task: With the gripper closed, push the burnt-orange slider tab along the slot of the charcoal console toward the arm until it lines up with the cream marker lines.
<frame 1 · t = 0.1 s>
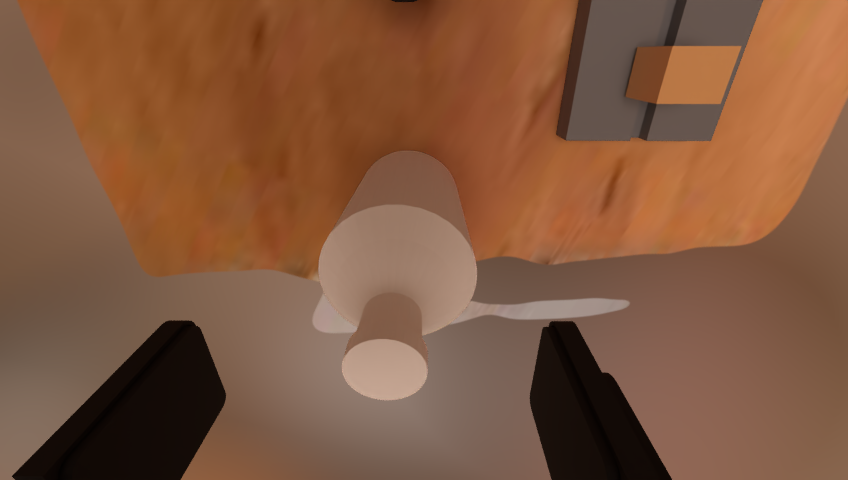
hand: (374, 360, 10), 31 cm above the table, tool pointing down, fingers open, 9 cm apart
slider tab: (671, 73, 30), point 5 cm above the table, slide at 10.0 cm
bottle: (408, 198, 41), on the table
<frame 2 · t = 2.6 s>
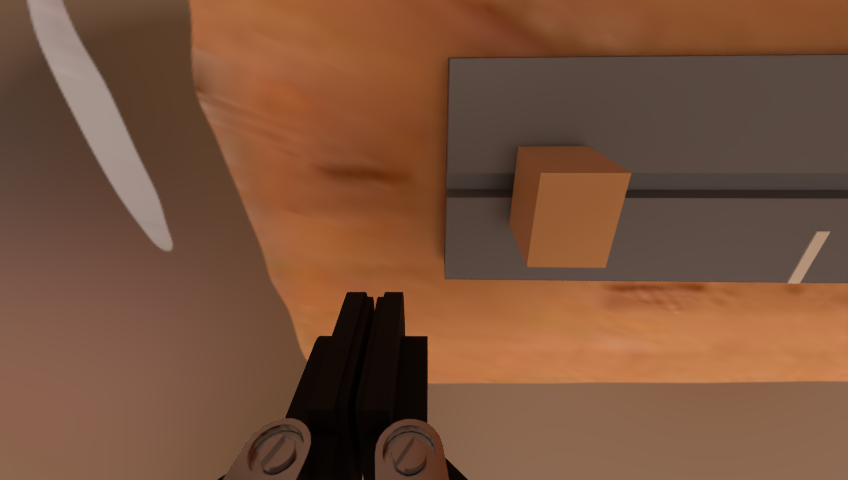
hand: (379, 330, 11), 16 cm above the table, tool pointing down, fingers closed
console: (681, 171, 24), on the table
slider tab: (555, 198, 20), point 5 cm above the table, slide at 10.0 cm
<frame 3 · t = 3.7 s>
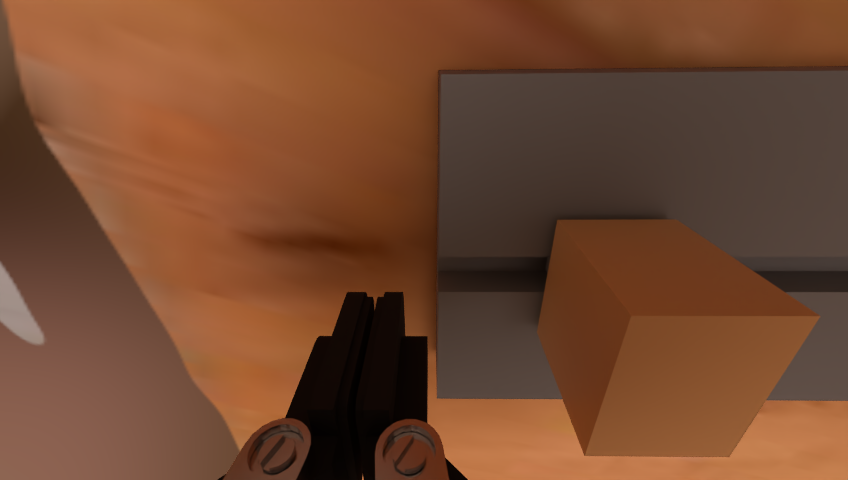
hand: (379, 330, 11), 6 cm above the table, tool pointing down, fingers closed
console: (791, 238, 16), on the table
slider tab: (622, 310, 12), point 5 cm above the table, slide at 10.0 cm
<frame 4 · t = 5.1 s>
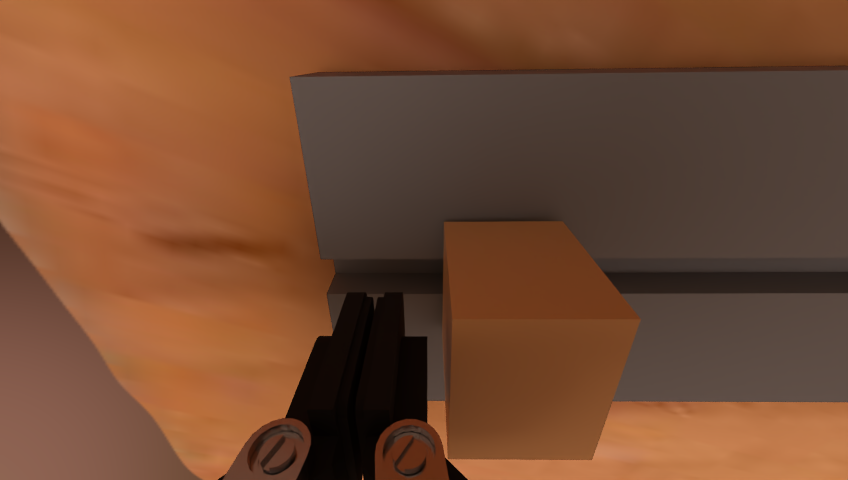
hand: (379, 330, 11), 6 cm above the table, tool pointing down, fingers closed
console: (694, 239, 16), on the table
slider tab: (505, 312, 12), point 5 cm above the table, slide at 9.4 cm, touching gripper
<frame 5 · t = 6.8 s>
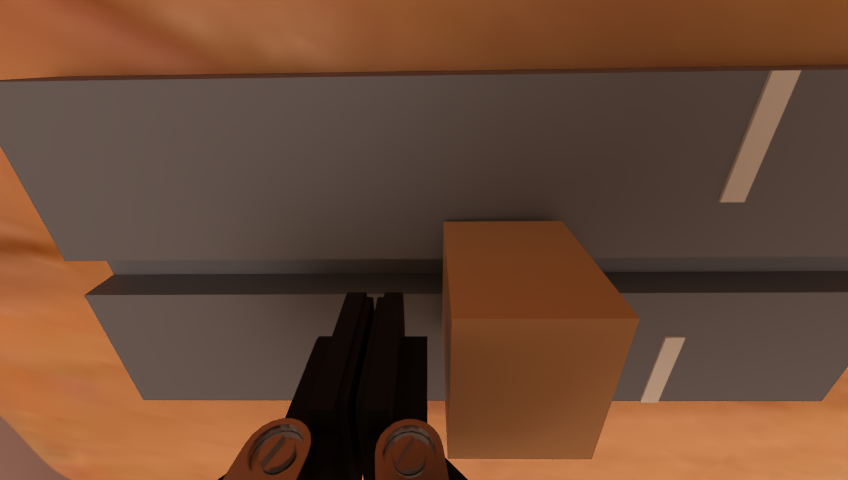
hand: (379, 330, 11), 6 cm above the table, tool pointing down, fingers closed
console: (477, 240, 16), on the table
slider tab: (505, 312, 12), point 5 cm above the table, slide at -0.3 cm, touching gripper
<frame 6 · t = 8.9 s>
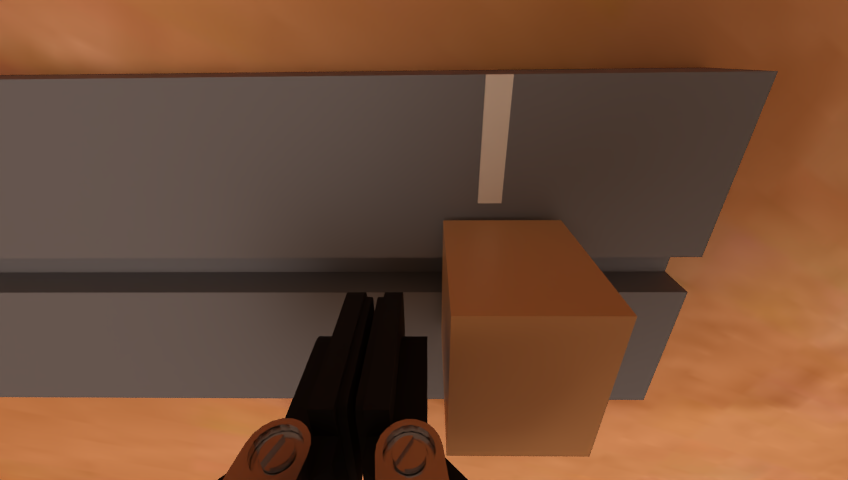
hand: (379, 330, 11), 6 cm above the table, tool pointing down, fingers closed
console: (301, 239, 16), on the table
slider tab: (504, 310, 12), point 5 cm above the table, slide at -8.4 cm, touching gripper
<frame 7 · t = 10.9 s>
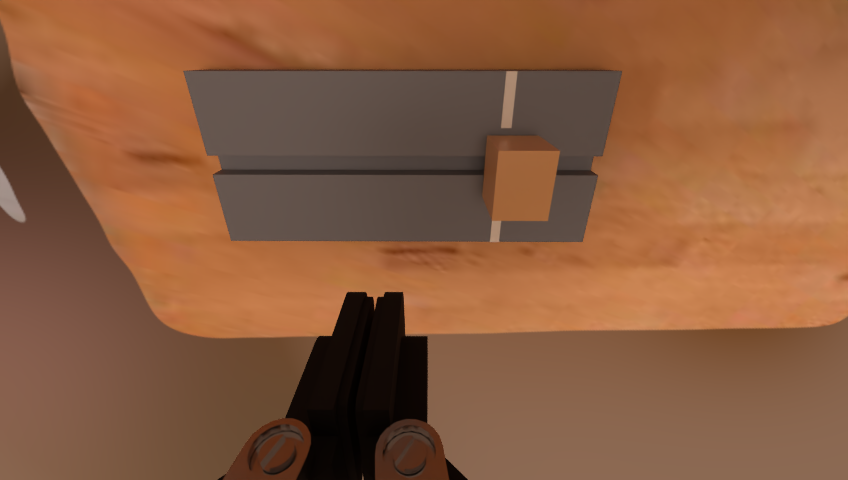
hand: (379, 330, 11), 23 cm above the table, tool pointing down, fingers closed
console: (406, 156, 32), on the table
slider tab: (513, 173, 27), point 5 cm above the table, slide at -8.5 cm
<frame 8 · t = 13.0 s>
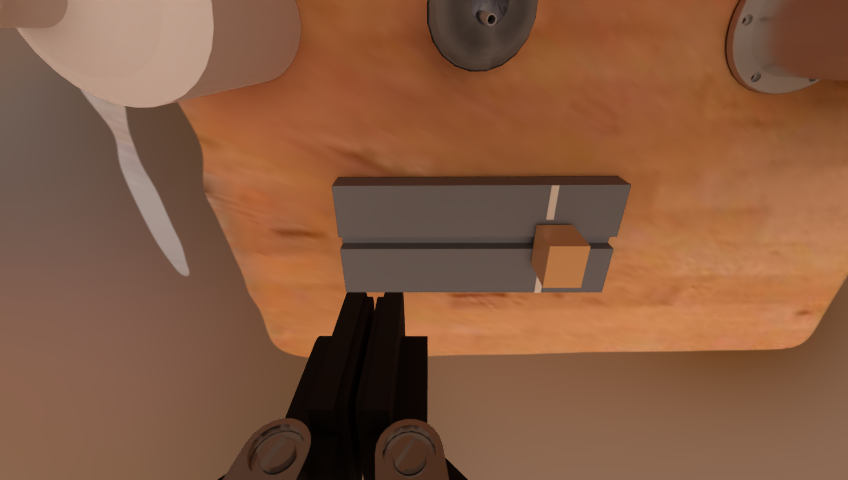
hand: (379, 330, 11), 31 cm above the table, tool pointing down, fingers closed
console: (473, 231, 44), on the table
slider tab: (555, 251, 39), point 5 cm above the table, slide at -8.5 cm
beverage cup: (465, 24, 34), on the table
bottle: (241, 19, 34), on the table
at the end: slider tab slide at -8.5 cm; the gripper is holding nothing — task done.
